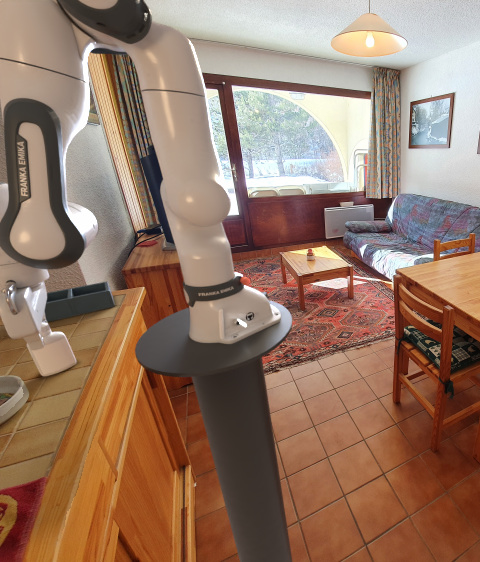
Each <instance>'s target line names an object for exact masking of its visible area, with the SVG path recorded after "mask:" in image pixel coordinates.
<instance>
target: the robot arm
mask: <svg viewBox="0 0 480 562" xmlns="http://www.w3.org/2000/svg"><path fill="white" fill-rule="evenodd" d="M90 54H94V55H120V56H123V55H128V56H129V58H130V59H131V61H132V63H133V65H134V67H135V70H136V73H137V78H138V83H139V87H140V92H141V97H142V102H143V106H144V112H145V115H146V120H147V125H148V128H149V134H150V138H151V142H152V144H153V147H154V151H155V155H156V158H157V161H158V165H159V169H160V172H161V176H162V180H161V183H160V189H159V193H160V198H161V201H162V204H163V208H164V211H165V212H164V213H165V215H166V220H167V222H168V227H169V229H170V232H171V236H172V240H173V242H174V246H175V248H176V252H177V256H178V262H179V265H180V269H181V274H182V277H183V281H182V287H183V288H182V290H183V294H184V297H185V301H186V303H187V305H188V308H189V310H190V331H189V336H190V338H191V339H192V340H194V341H197V342H201V343H224V344H233V343H235V342H237V341H239V340H242V339H244V338H246V337H248V336H250V335H252V334H254V333H257V332H259V331H261V330H263V329H265V328H267V327H269V326H271V325H274V324H276V323H278V322H280V321H281V314H280V312H279V310H278V309H277V308H276V307H274V306H273V305H271V304H270V303H269V301H268V300H269V296H268V292H267V291H260V290H258V289H256V288H253V287H250V286H249V285H250V284H251V279H250V278H249V277H248V276H244V275H243V274H242V273H239V272H237V271H235V269H234V262H233V256H232V249H231V244H230V242H229V239H228V236H227V234H226V230H225V228H224V224H223V222H224V220H226V218H227V217H228V216H229V214H230V211H231V204H232V203H231V197H230V194H229V192H228V189H227V186H226V182H225V178H224V174H223V170H222V166H221V162H220V158H219V155H218V152H217V148H216V145H215V141H214V135H213V129H212V122H211V116H210V110H209V104H208V103H209V102H208V98H207V91H206V85H205V82H204V77H203V73H202V68H201V65H200V62H199V59H198V56H197V53H196V50H195V47H194V45H193V43H192V42H191V40H190V39H189V38H188V37H187V36H186V35H185V34H184V33H183V32H181V31H180V30H178V29H176V28H174V27H172V26H169V25H167V24H162V23H159V22H156V21H154V20H153V14H152V10H151V8H150V7H149V5H148V3H146V1H145V0H0V111H1V117H2V123H3V137H4V139H3V140H4V153H5V166H6V179H7V182H0V319H1V321H2V324H3V326H4V329H5V331H6V333H7V335H8V337H9V338H11V339H12V340H19V339H20V340H21V339H22V340H24V342H26V344H27V343H28V345H29V347H30V349H31V350H38V349H42V348H43V347H44V341H43V338H42V337H41V336H40V334H39V333H40V329H41V325H42V323H48V322H47V320H46V317H45V311H44V310H45V306H46V301H47V293H48V292H47V287H46V284H45V281H47V280H48V279H49V278H50V273H49V271H48V270H59V269H64V268H67V267H69V266H71V265H73V264H75V263H76V262H77V261H79V260H80V259H81V258H82V256H83V255H84V252H85V251H86V249H87V248H88V247H89V246H90V245H91V243H92V242H93V241H94V240H95V239H96V237H97V236H98V233H99V230H100V229H99V228H100V225H99V222H98V219H97V218H96V216H95V215H94V213H93V212H92V211H90V210H89V209H88V208H87V207H85V206H84V205H82V204H79V203H78V202H73V201H70V200H69V201H68V190H67V174H66V173H67V171H66V156H67V151H68V148H69V146H70V144H71V143H72V141H73V139H74V138H75V137H76V136H77V135H78V133H79V132H80V131H82V129H83V128H85V126H86V125H87V123H88V118H89V113H90V101H91V99H90V98H91V95H90V94H91V92H90V81H89V71H88V57H89V55H90Z"/></svg>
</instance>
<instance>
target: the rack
mask: <svg viewBox="0 0 480 562" xmlns="http://www.w3.org/2000/svg"><path fill="white" fill-rule="evenodd" d="M115 307H116V305H115V300H114V296H113V293H112V289H111V286H110V285H109V282H108V281H102V282H101V281H100V282H96V283H92V284H86V285H80V286H76V287H71V288H64V289H59V290H54V291H50V292H47V301H46V306H45V310H44V311H45V317H46V320H47V323H49V322H54V321H58V320H59V321H60V320H63V319H66V318H67V319H68V318H72V317H75V316H79V315H83V314H84V315H85V314H89V313H93V312H98V311H101V310H102V311H103V310H106V309H111V308H115Z"/></svg>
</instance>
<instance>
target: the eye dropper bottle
mask: <svg viewBox="0 0 480 562" xmlns="http://www.w3.org/2000/svg"><path fill="white" fill-rule="evenodd" d="M39 334H40V336H41V337H42V338H43V341H44V347H43V348H42V349H38V350H31V349H30V347H29V345H28V343H27V342H26V349H27V350H28V352H29V354H30V356H31V359H32V360H33V363H34V365H35V367H36V369H37V371H38V373H39V374H40V376H42V377H49V376H53V375H56V374H58V373H62V372H63V371H66V370H68V369H70V368H72V367H73V366H76V364H77V359H76V357H75V354H74V352H73V350H72V349H73V348H72V346H71V345H70V343H69V340H68V338H67V336H66V335H65V333H63V332H62V331H52V329H51V327H50V324H49V322H47V323H42V325H41V329H40V333H39Z"/></svg>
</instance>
